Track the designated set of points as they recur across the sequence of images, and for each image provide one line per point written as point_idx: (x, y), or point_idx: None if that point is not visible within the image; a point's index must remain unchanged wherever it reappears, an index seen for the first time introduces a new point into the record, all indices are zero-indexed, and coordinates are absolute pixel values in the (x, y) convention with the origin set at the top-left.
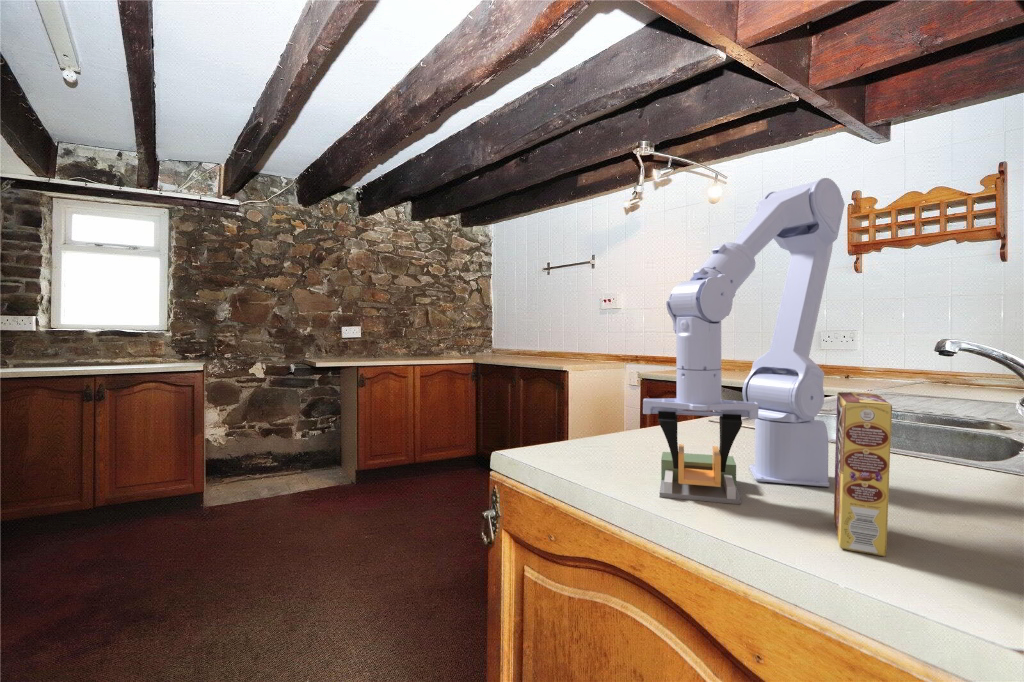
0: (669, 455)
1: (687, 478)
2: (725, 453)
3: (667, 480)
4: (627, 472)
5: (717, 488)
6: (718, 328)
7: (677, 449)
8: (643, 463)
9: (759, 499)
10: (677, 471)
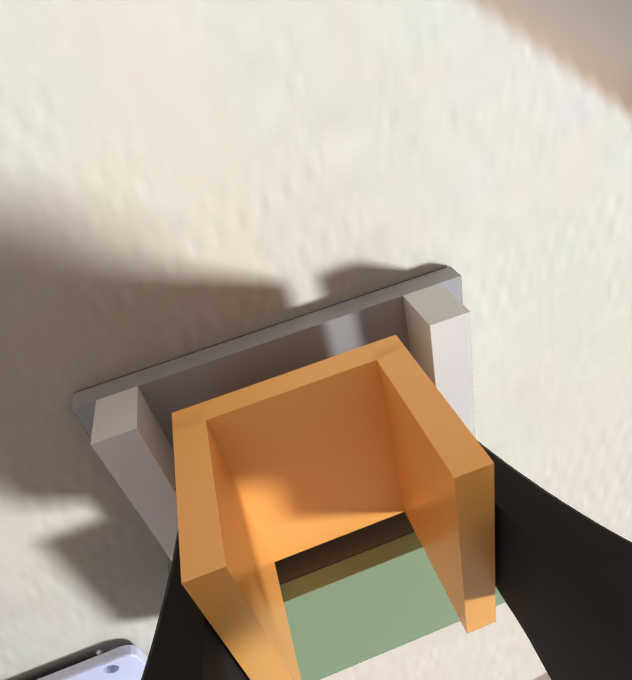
0: None
1: (361, 383)
2: (171, 644)
3: (455, 342)
4: (585, 457)
5: None
6: None
7: (506, 522)
8: None
9: (32, 500)
10: None
